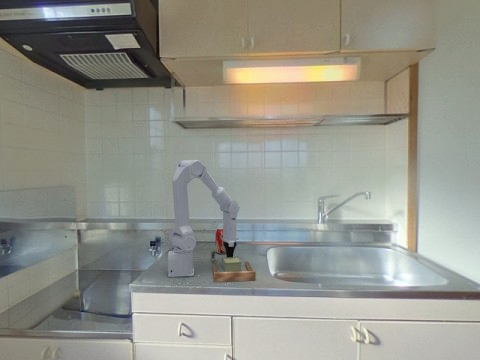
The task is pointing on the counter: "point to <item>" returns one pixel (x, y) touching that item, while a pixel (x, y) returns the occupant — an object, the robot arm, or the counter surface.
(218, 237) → the soda can
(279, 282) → the counter surface
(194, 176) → the robot arm
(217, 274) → the bay
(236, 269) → the box
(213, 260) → the crank handle
